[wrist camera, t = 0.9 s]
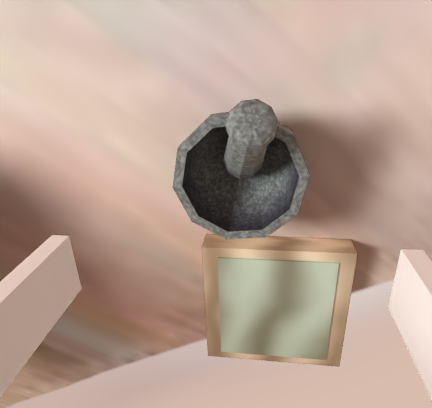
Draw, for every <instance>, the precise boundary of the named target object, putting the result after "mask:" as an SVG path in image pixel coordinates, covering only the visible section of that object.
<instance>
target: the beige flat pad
mask: <svg viewBox="0 0 432 408" xmlns="http://www.w3.org/2000/svg"><path fill="white" fill-rule="evenodd" d="M356 259H357V252H356V250H355V247H354V245H353V243H352V240H351V239H326V238H298V237H270V236H267V237H265V238H247V239H230V240H226V239H224V238H222V237H220V236H218V235H214V234H206V235H205V238H204V242H203V245H202V261H203V278H204V295H205V312H206V329H207V345H208V356H218V357H230V358H242V359H255V360H266V361H278V362H290V363H302V364H315V365H327V366H339V365H340V358H341V352H342V346H343V340H344V334H345V328H346V321H347V315H348V309H349V302H350V296H351V290H352V284H353V278H354V271H355V265H356Z"/></svg>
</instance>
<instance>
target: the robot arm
mask: <svg viewBox="0 0 432 408" xmlns="http://www.w3.org/2000/svg"><path fill="white" fill-rule="evenodd" d="M81 289H82V288H81V283H80V279H79V275H78V271H77V267H76V262H75V258H74V254H73V250H72V246H71V241H70V237H69V236H63V235H52V236H51V237H49V238H48V239H47V240H46V241H45V242H44V243H43V244H42V245H41V246H39V247H38V248H37V249H36V250H35V251H34V252H33V253H32V254H31V255H29V256H28V257H27V258H26V259H25V260H24V261H23V262H22V263H20V264H19V265H18V266H17V267H16V268H15V269H14V270H13V271H12V272H10V273H9V274H8V275H7V276H6V277H5V278H4V279H3V280H1V281H0V397H1V396H2V394H3V393H4V392H5V390H6V389H7V388H8V386H9V385H10V384H11V382H12V381H13V380H14V378H15V377H16V376H17V374H18V373H19V372H20V370H21V369H22V368H23V366H24V365H25V364H26V362H27V361H28V360H29V358H30V357H31V356H32V354H33V353H34V352H35V350H36V349H37V348H38V346H39V345H40V344H41V342H42V341H43V340H44V339H45V337H46V336H47V335H48V333H49V332H50V331H51V329H52V328H53V327H54V325H55V324H56V323H57V321H58V320H59V319H60V317H61V316H62V315H63V313H64V312H65V311H66V309H67V308H68V307H69V305H70V304H71V303H72V301H73V300H74V299H75V297H76V296H77V295H78V293H79V292H80V291H81ZM388 308H389V311H390V313H391V315H392V317H393V319H394V321H395V323H396V325H397V328H398V330H399V332H400V334H401V336H402V338H403V341H404V343H405V345H406V347H407V349H408V351H409V354H410V356H411V358H412V360H413V362H414V365H415V367H416V369H417V371H418V373H419V375H420V377H421V380H422V382H423V384H424V386H425V388H426V390H427V393H428V394H429V397H430V399H431V401H432V261H431V259H430V258H429V257H428V255H427V254H426V253H425V252H424V250H413V249H401V252H400V256H399V261H398V265H397V270H396V274H395V279H394V284H393V288H392V292H391V297H390V301H389V306H388Z"/></svg>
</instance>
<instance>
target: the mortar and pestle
mask: <svg viewBox="0 0 432 408" xmlns="http://www.w3.org/2000/svg"><path fill="white" fill-rule="evenodd" d="M309 177H310V174H309V171H308V168H307V165H306V163H305V161H304V158H303V156H302V153H301V151H300V148H299V146H298V143H297V141H296V138H295V136H294V133H293V131H292V130H290V129H289V128H287V127H285V126H283V125H282V124H280V123H278V120H277V118H276V116H275V114H274V111H273V109H272V107H271V106H269V105H267V104H265V103H264V102H262V101H260V100H258V99H254V100H244V101H241V102H240V103H238V104H237V105H236V106H235V107H234V108H233V109H232V110H231V111H230V112H225V113H217V114H211V115H210V116H209V117H208V118H207V119H206V120H205V121H204V122H203V123H202V124H201V125H200V126H199V127H198V128H197V129H196V130H195V131H194V132H193V133H192V134H191V135H190V136H189V137H188V138H187V139H186V140H185V141H183V142H182V144H181V145H180V146H179V147H178V150H177V157H176V165H175V173H174V181H173V189H174V191H175V192H176V194H177V196H178V198H179V200H180V201H181V203H182V205H183V207H184V209H185V210H186V212H187V214H188V216H189V217H190V219H191V221H192V222H194V223H196V224H198V225H200V226H201V227H203V228H205V229H207V230H209V231H211V232H213V233H215V234H217V235H218V236H220V237H222V238H224V239H226V240H230V239H247V238H265V237H267V236H269V235H270V234H271V233H273V232H274V231H275V230H277V229H278V228H280V227H281V226H282V225H284V224H285V223H286V222H288V221H289V220H291V219H292V218H293V217H295V216H296V215H297V214H298V213H299V209H300V206H301V203H302V200H303V197H304V193H305V190H306V187H307V184H308V181H309Z"/></svg>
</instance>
